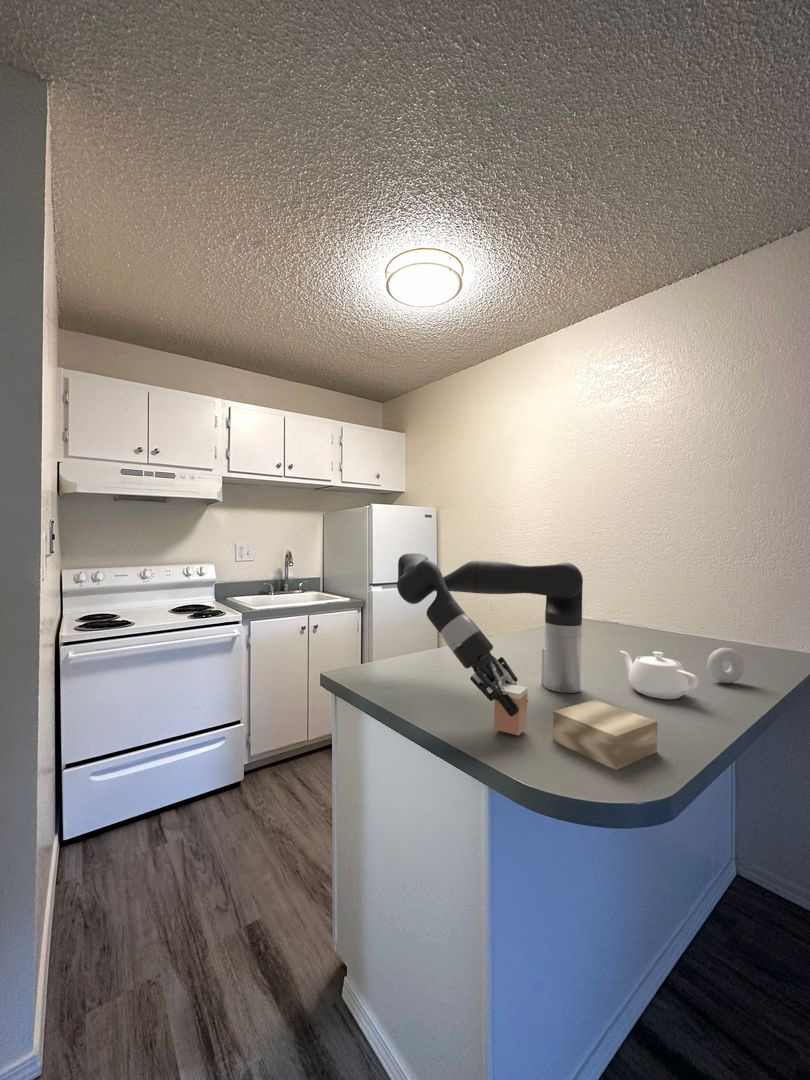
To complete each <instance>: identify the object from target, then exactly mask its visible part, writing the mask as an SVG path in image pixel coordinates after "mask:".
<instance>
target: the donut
mask: <svg viewBox="0 0 810 1080" xmlns="http://www.w3.org/2000/svg"><path fill="white" fill-rule="evenodd" d="M725 661H728V662H729V668H728V669H726V670H723V667H722V666H723V662H725ZM706 665H707V666H706V667H707V670H708V672H709V675H710V676H711V677H712V679H714V680H715V681H717V682H719V683H722V684H732V683H735V682H737V681H738V680H740V679H741V677H742V676H743V675H744V672H745V667H746V666H745V661H744V659H743V657H742V655H741V654H740V653H739V652H738V651H737V650H734V649H733V648H729V647H720V648H717V649H715V650H713V652H712V653H710V654H709V657H708V658H707V663H706Z"/></svg>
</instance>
